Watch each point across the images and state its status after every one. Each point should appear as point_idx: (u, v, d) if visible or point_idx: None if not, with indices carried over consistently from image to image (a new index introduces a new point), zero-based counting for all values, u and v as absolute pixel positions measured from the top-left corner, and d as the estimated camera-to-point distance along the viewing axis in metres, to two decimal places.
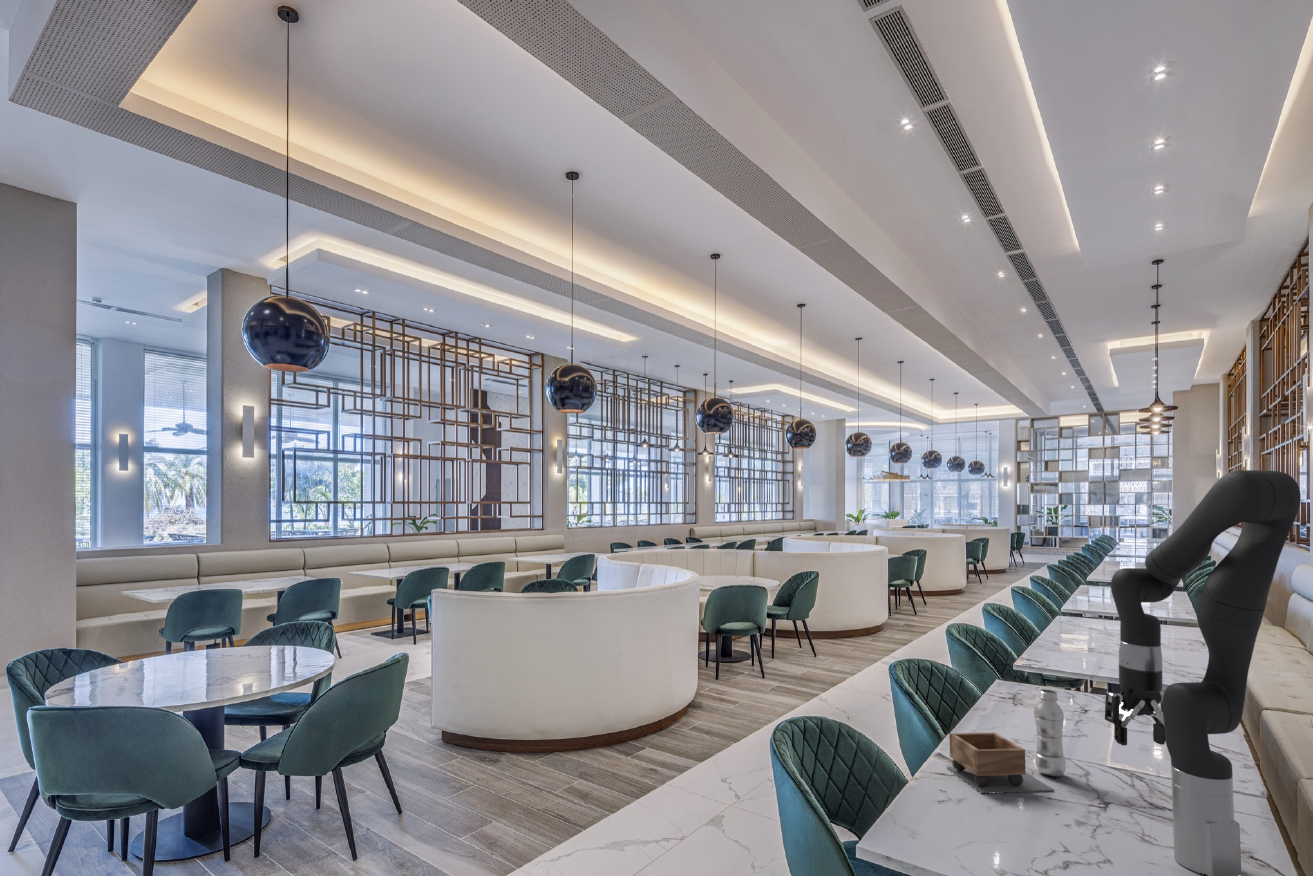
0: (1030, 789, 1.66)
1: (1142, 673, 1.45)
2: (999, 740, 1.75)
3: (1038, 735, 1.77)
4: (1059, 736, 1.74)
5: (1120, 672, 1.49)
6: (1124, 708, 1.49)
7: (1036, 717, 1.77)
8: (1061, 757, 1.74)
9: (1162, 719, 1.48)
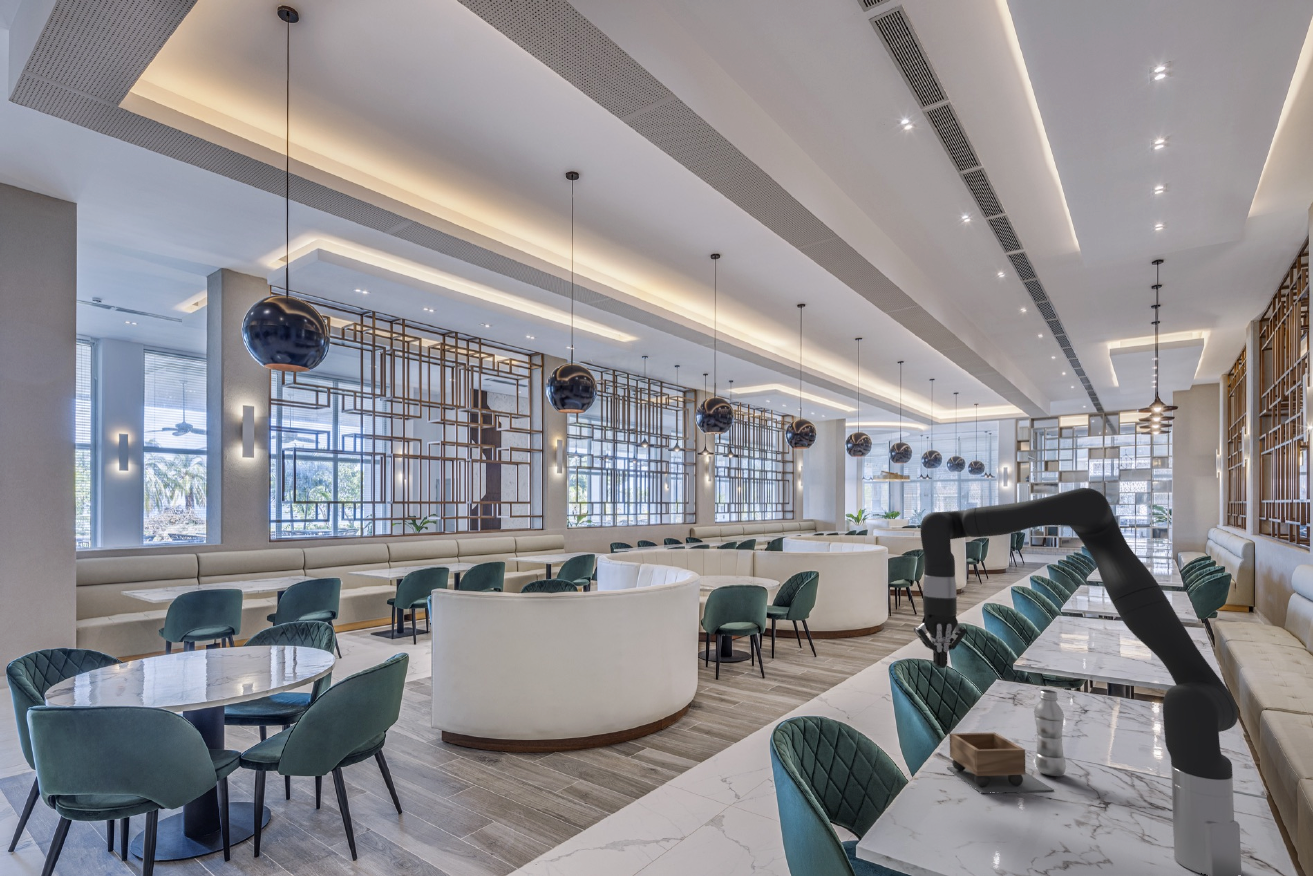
0: (1030, 789, 1.66)
1: (937, 600, 1.70)
2: (999, 740, 1.75)
3: (1038, 735, 1.77)
4: (1059, 736, 1.74)
5: (923, 601, 1.74)
6: None
7: (1036, 717, 1.77)
8: (1061, 757, 1.74)
9: (946, 644, 1.71)
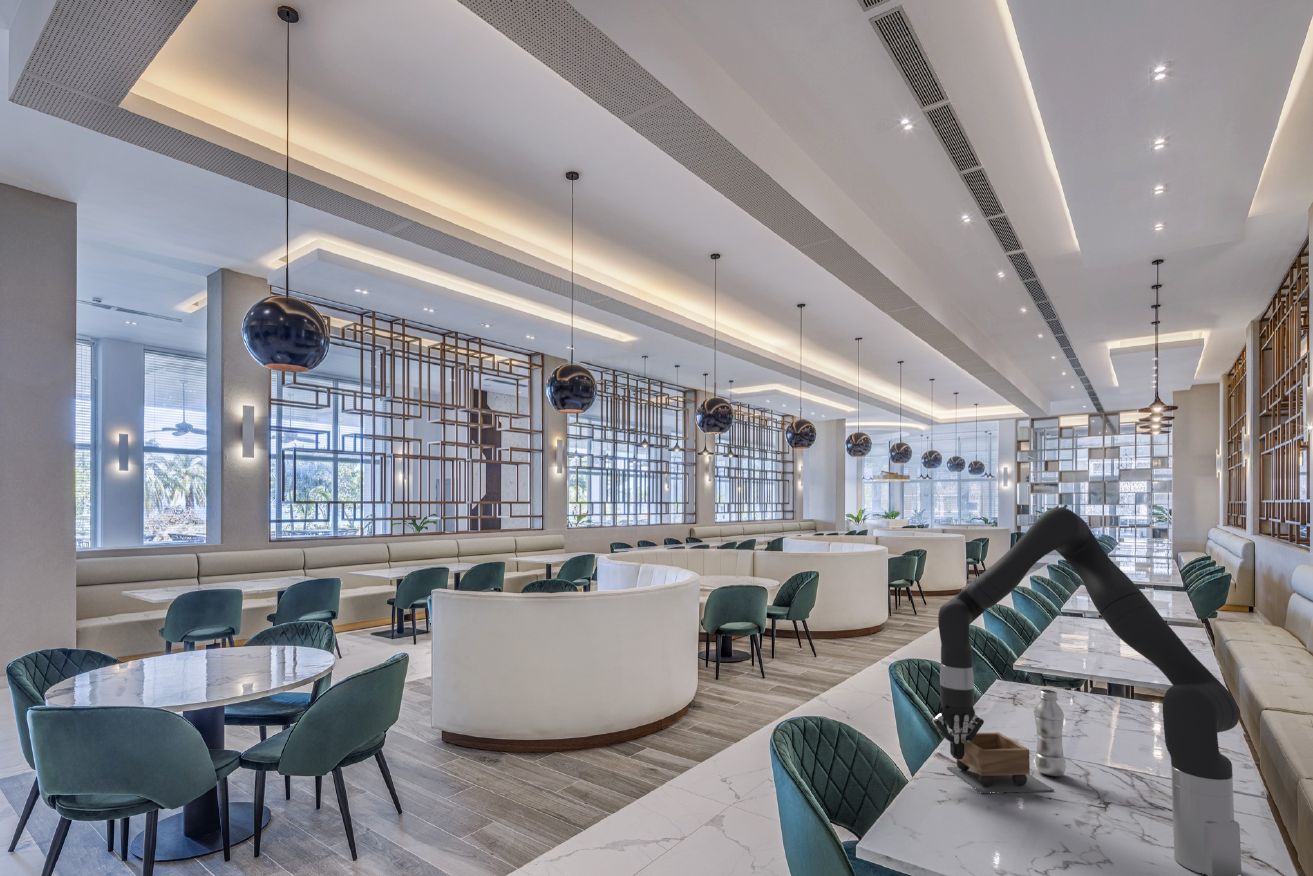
0: (1030, 789, 1.66)
1: (955, 691, 1.69)
2: (1003, 740, 1.75)
3: (1038, 735, 1.77)
4: (1059, 736, 1.74)
5: (940, 691, 1.73)
6: None
7: (1036, 717, 1.77)
8: (1061, 757, 1.74)
9: (963, 736, 1.70)
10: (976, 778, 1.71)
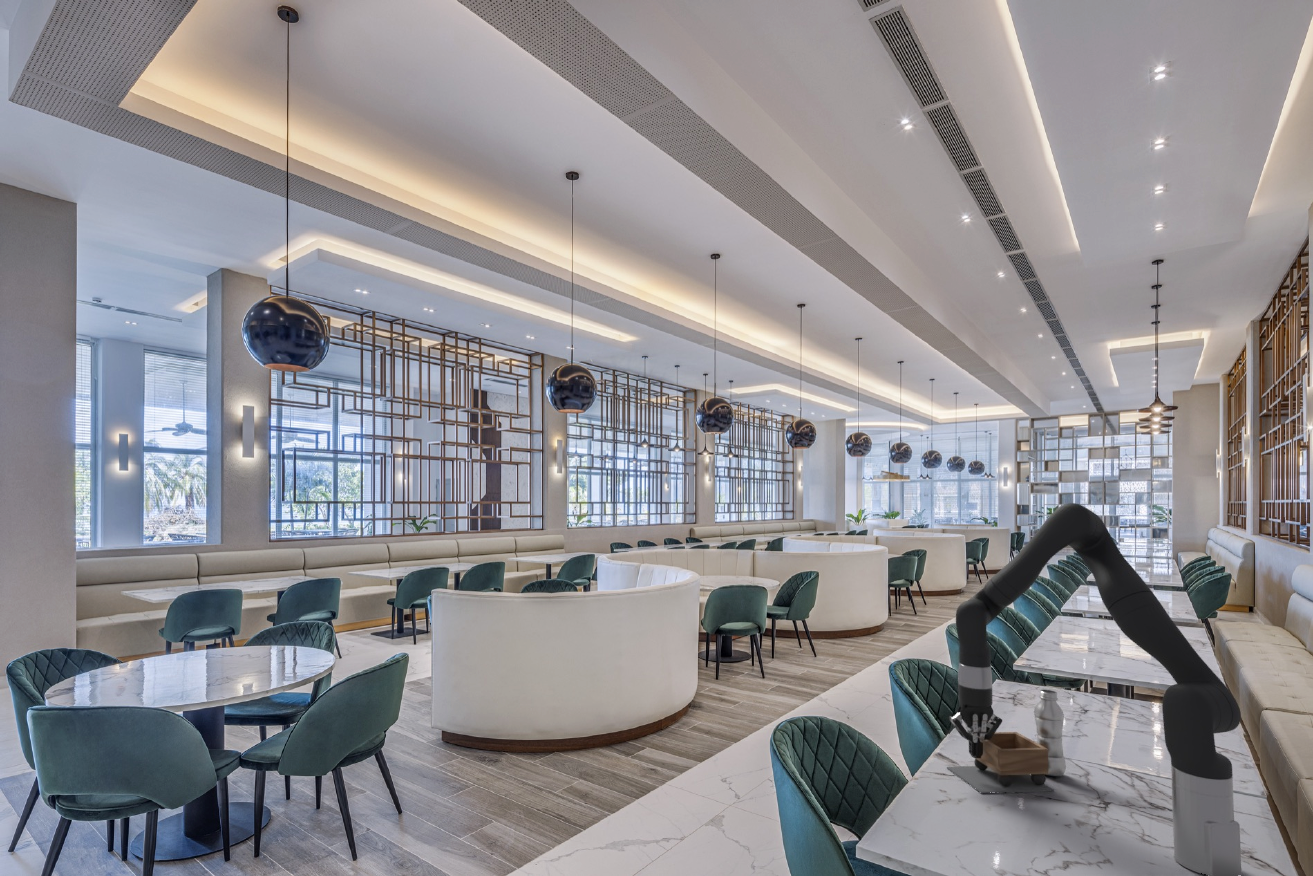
0: (1030, 789, 1.66)
1: (973, 690, 1.69)
2: (1021, 739, 1.76)
3: (1038, 735, 1.77)
4: (1059, 736, 1.74)
5: (958, 690, 1.73)
6: None
7: (1036, 717, 1.77)
8: (1061, 757, 1.74)
9: (982, 735, 1.71)
10: (976, 778, 1.71)
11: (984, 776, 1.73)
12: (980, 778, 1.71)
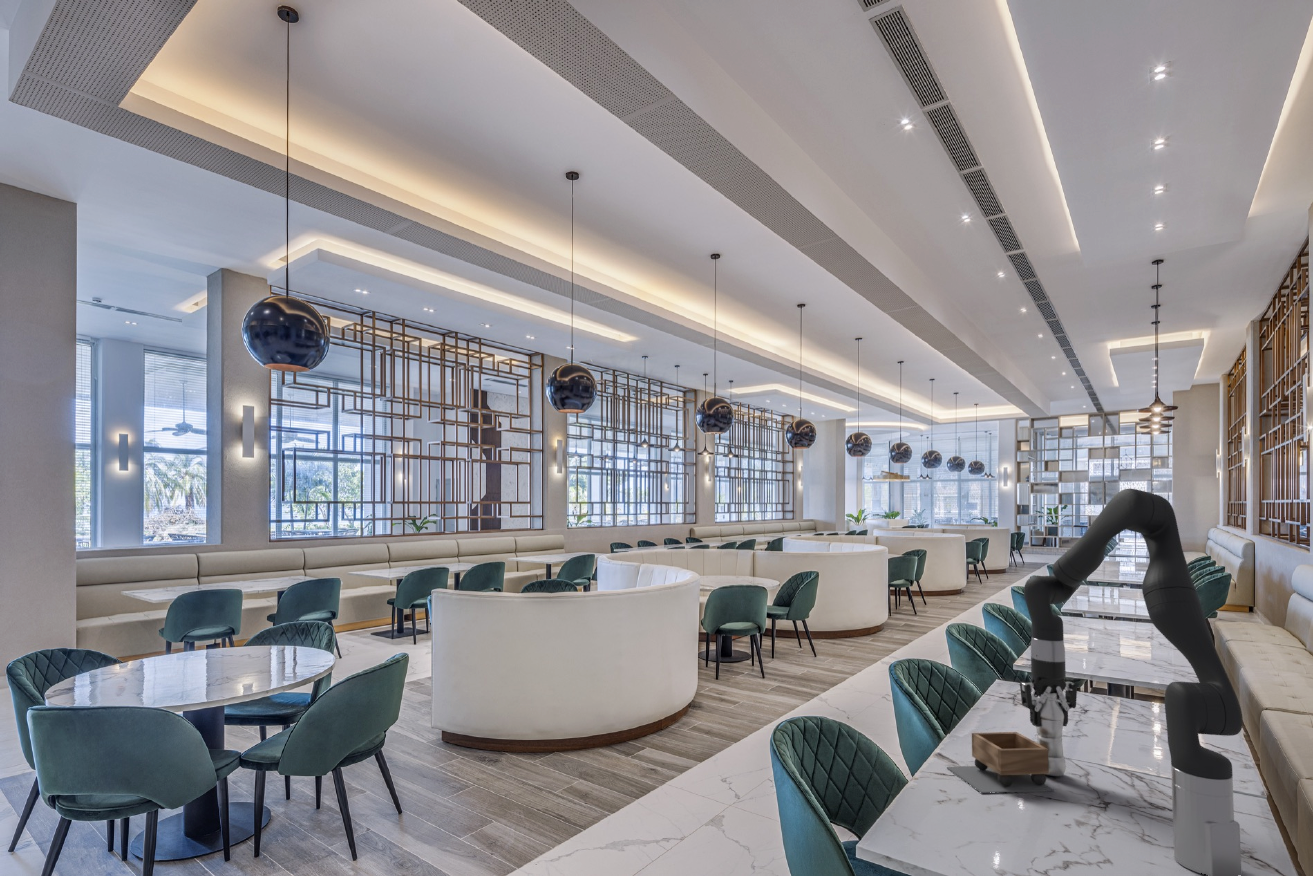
0: (1030, 789, 1.66)
1: (1048, 663, 1.75)
2: (1021, 739, 1.76)
3: (1038, 735, 1.77)
4: (1059, 736, 1.74)
5: (1031, 663, 1.78)
6: (1037, 694, 1.78)
7: None
8: (1061, 757, 1.74)
9: (1064, 704, 1.76)
10: (976, 778, 1.71)
11: (984, 776, 1.73)
12: (980, 778, 1.71)
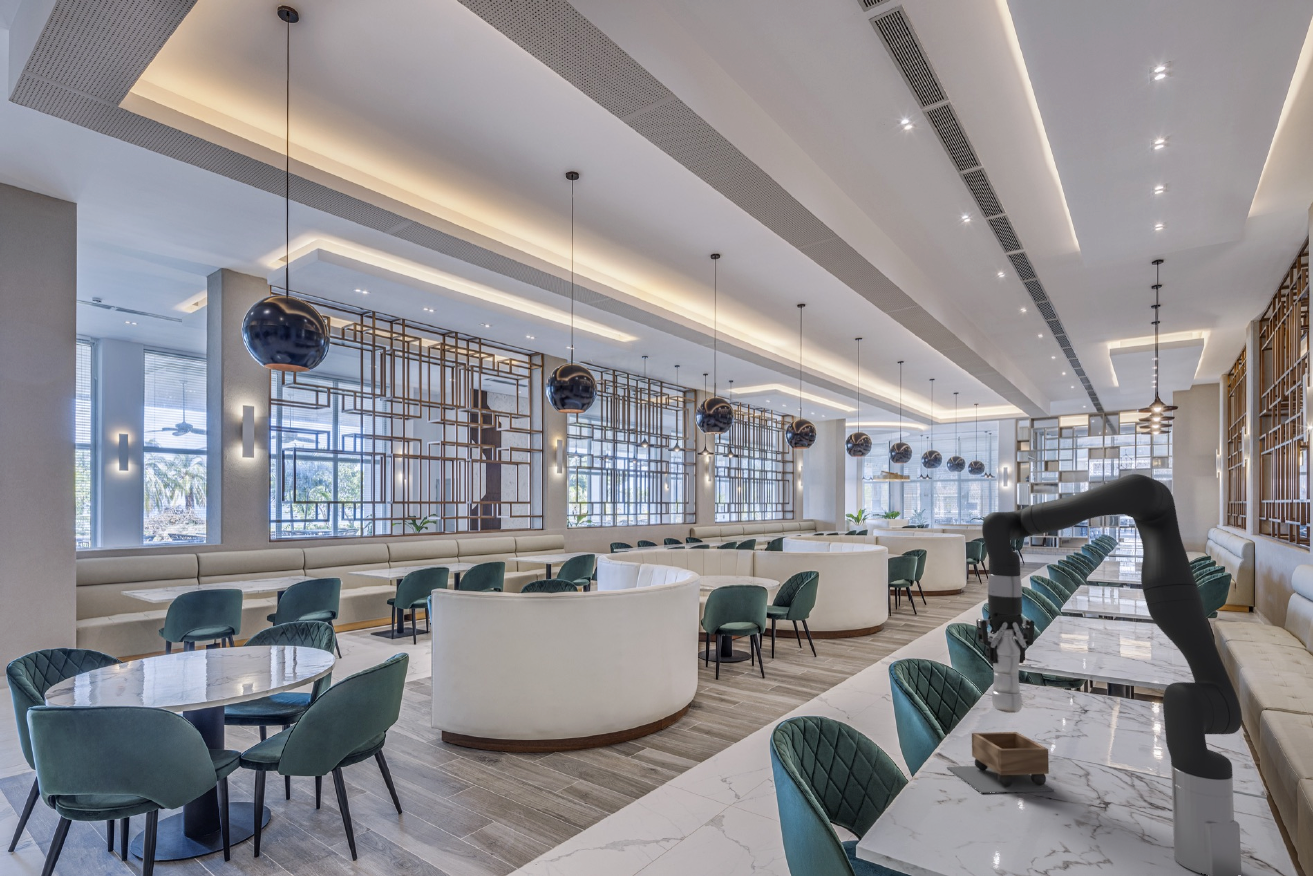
0: (1030, 789, 1.66)
1: (1003, 598, 1.72)
2: (1021, 739, 1.76)
3: (994, 672, 1.74)
4: (1015, 672, 1.72)
5: (988, 600, 1.76)
6: (993, 631, 1.76)
7: None
8: (1017, 693, 1.71)
9: (1021, 641, 1.74)
10: (976, 778, 1.71)
11: (984, 776, 1.73)
12: (980, 778, 1.71)
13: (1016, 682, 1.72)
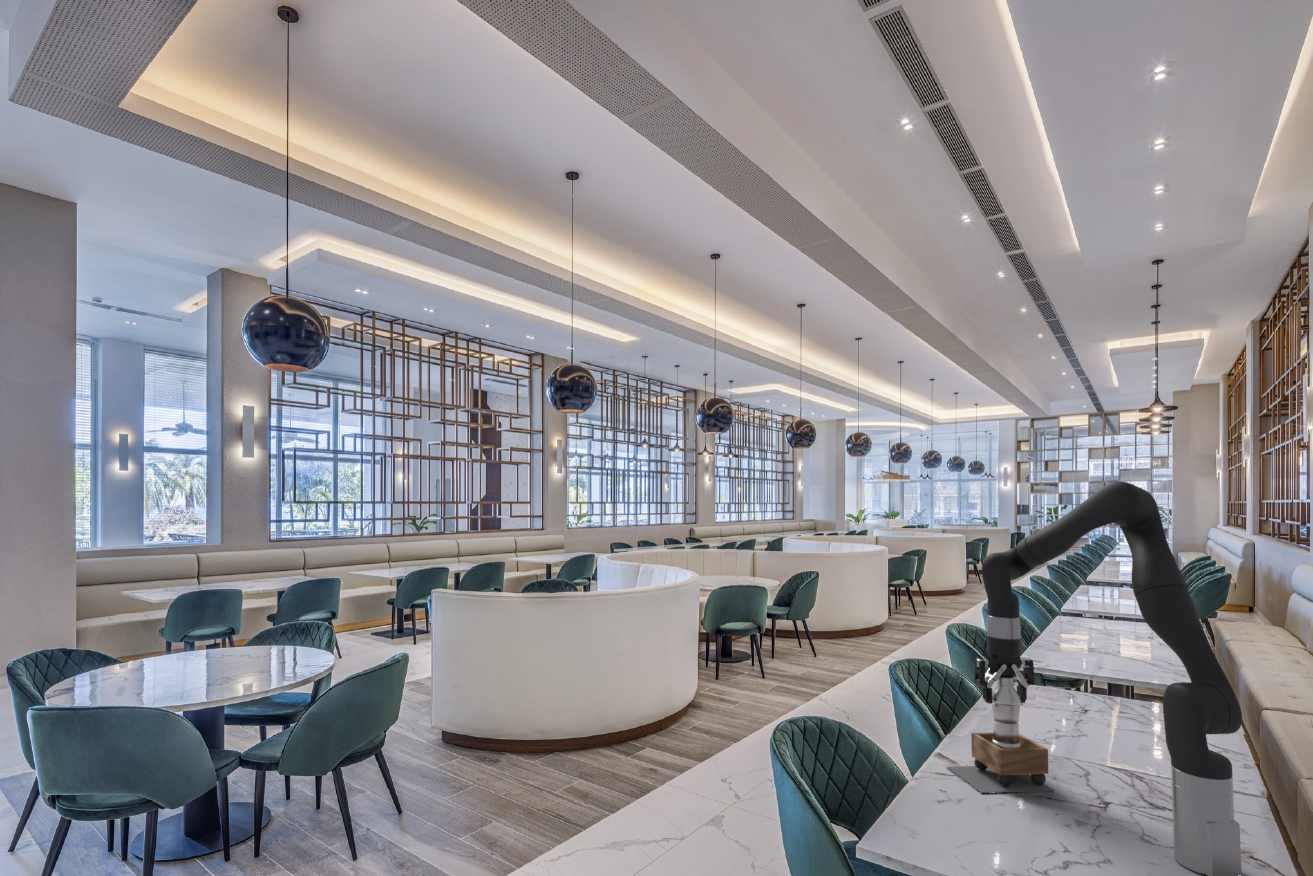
0: (1030, 789, 1.66)
1: (1003, 641, 1.71)
2: (1021, 739, 1.76)
3: (994, 720, 1.73)
4: (1015, 721, 1.71)
5: (987, 641, 1.75)
6: (991, 672, 1.75)
7: (992, 702, 1.73)
8: (1017, 743, 1.70)
9: (1022, 681, 1.73)
10: (976, 778, 1.71)
11: (984, 776, 1.73)
12: (980, 778, 1.71)
13: (1016, 731, 1.71)
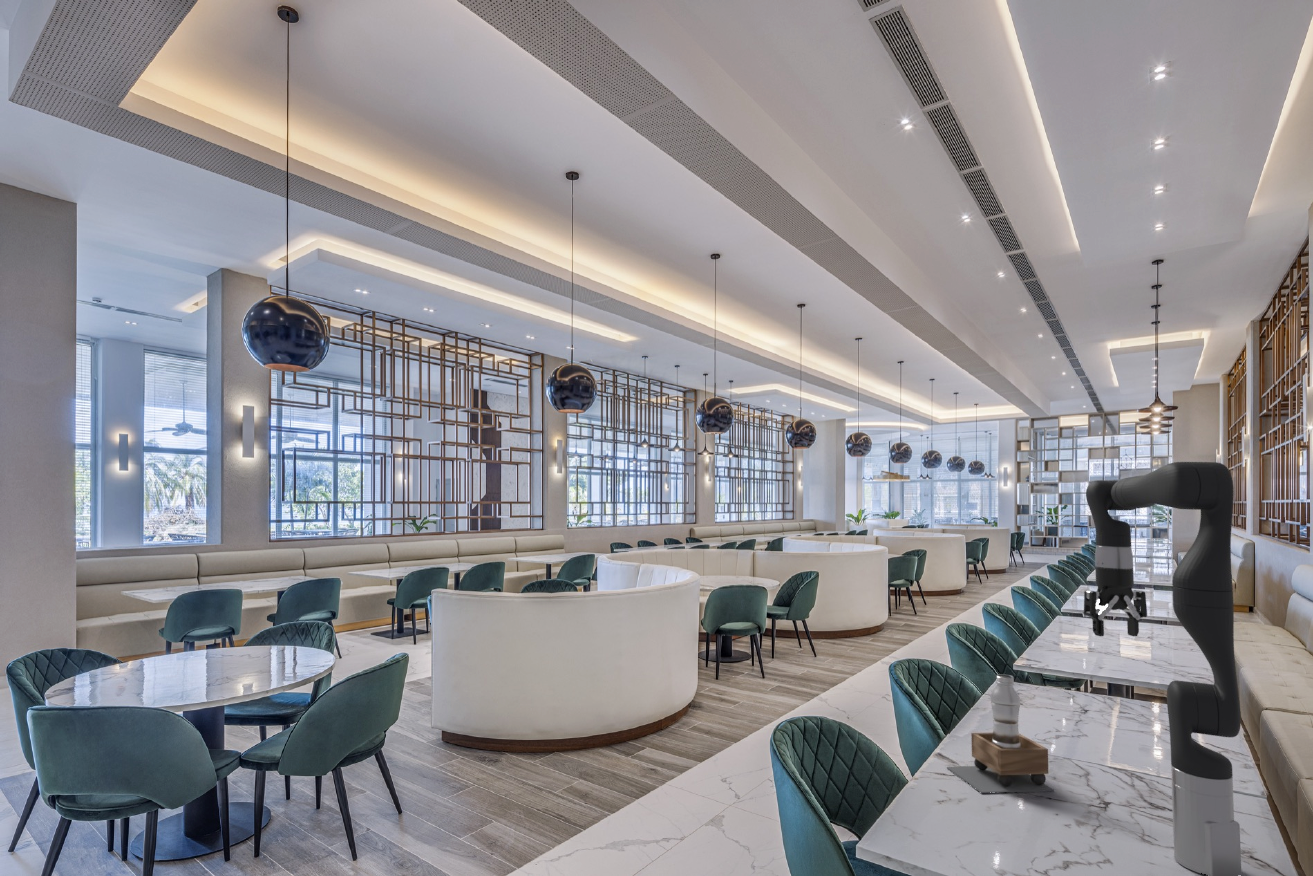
0: (1030, 789, 1.66)
1: (1115, 570, 1.64)
2: (1021, 739, 1.76)
3: (994, 721, 1.73)
4: (1015, 721, 1.71)
5: (1096, 573, 1.68)
6: (1101, 605, 1.68)
7: (992, 702, 1.73)
8: (1017, 743, 1.70)
9: (1134, 613, 1.66)
10: (976, 778, 1.71)
11: (984, 776, 1.73)
12: (980, 778, 1.71)
13: (1016, 731, 1.71)
